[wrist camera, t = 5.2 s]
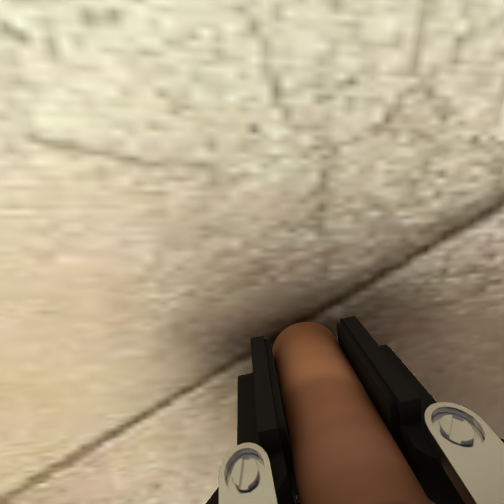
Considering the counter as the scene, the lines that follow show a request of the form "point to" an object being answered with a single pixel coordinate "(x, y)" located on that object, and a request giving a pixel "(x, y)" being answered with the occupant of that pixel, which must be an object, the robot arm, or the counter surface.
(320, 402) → the block
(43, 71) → the counter surface
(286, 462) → the robot arm
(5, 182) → the counter surface
